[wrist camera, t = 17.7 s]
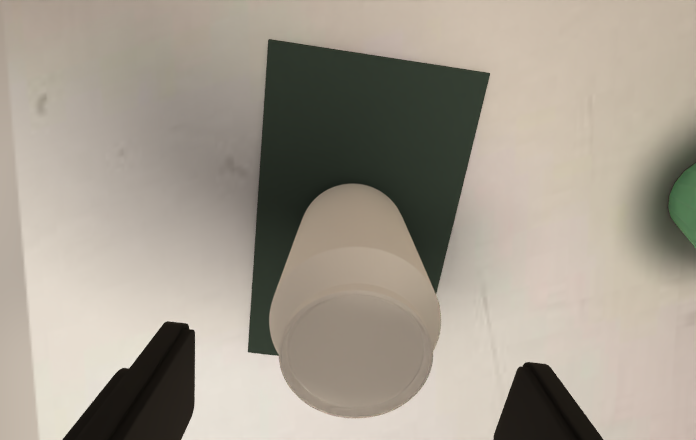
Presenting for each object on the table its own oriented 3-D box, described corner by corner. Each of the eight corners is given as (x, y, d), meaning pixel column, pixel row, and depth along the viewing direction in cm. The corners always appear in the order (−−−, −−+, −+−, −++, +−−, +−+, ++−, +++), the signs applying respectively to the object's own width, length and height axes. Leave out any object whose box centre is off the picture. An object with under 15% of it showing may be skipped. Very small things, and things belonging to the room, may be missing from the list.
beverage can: (418, 248, 24) (484, 392, 12) (332, 289, 25) (318, 458, 13) (374, 160, 22) (403, 235, 11) (283, 208, 23) (218, 324, 12)
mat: (269, 39, 20) (268, 39, 20) (488, 73, 21) (490, 73, 20) (248, 350, 26) (247, 352, 26) (416, 370, 27) (417, 371, 27)
